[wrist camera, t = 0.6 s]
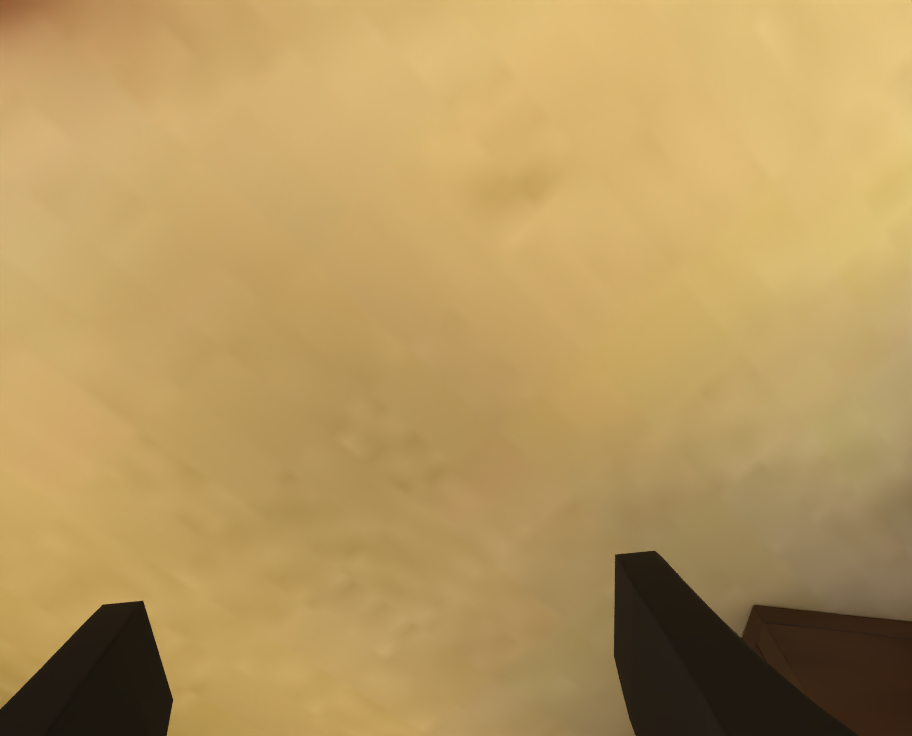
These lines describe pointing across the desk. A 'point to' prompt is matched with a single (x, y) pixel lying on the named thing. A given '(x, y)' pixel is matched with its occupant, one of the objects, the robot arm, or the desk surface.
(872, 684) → the box
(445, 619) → the desk surface
